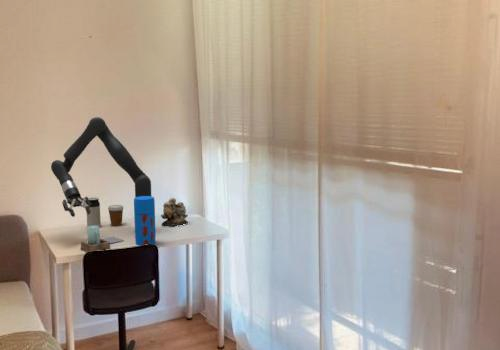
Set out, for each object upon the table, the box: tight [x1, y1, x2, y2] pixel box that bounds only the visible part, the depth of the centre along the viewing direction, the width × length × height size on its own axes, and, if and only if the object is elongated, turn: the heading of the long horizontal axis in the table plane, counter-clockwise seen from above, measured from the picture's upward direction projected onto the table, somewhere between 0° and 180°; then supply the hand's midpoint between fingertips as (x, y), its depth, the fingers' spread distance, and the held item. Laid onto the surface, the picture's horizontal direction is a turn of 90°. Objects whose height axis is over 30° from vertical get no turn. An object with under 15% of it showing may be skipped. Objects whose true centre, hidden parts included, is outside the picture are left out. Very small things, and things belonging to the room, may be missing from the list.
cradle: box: [80, 238, 111, 253], centre depth 250 cm, size 10×11×4 cm
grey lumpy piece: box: [160, 197, 189, 227], centre depth 302 cm, size 18×12×17 cm, turn 127°
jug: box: [86, 225, 101, 245], centre depth 250 cm, size 6×8×12 cm
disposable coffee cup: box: [107, 204, 124, 227], centre depth 301 cm, size 10×10×12 cm
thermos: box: [133, 195, 157, 246], centre depth 260 cm, size 11×11×25 cm
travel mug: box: [86, 196, 102, 228], centre depth 296 cm, size 8×8×18 cm
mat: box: [102, 236, 125, 245], centre depth 265 cm, size 11×11×1 cm
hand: (81, 214), depth 257 cm, fingers open, 8 cm apart
